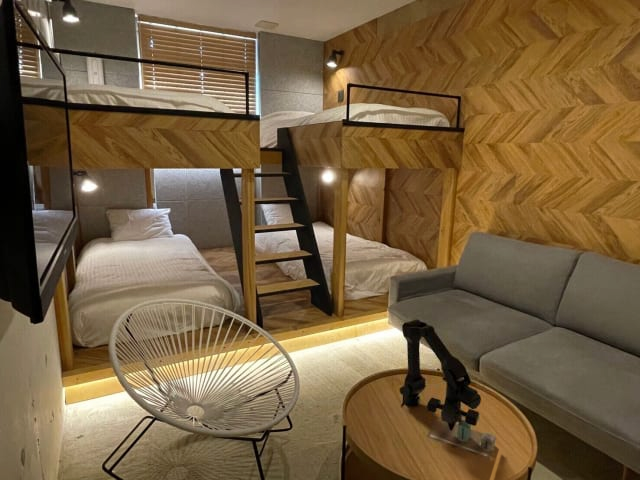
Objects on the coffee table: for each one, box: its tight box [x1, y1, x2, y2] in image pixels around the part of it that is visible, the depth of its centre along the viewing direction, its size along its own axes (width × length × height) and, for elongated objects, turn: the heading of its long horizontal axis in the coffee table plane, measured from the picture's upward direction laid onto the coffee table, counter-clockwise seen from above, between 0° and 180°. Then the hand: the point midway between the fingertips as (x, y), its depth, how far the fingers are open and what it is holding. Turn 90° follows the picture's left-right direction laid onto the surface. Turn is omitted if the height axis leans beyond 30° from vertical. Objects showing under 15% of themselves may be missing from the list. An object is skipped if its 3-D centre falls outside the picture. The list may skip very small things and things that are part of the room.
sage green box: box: [457, 418, 472, 442], centre depth 165 cm, size 4×4×6 cm
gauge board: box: [426, 417, 497, 460], centre depth 166 cm, size 24×13×5 cm, turn 58°
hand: (451, 429), depth 168 cm, fingers closed
